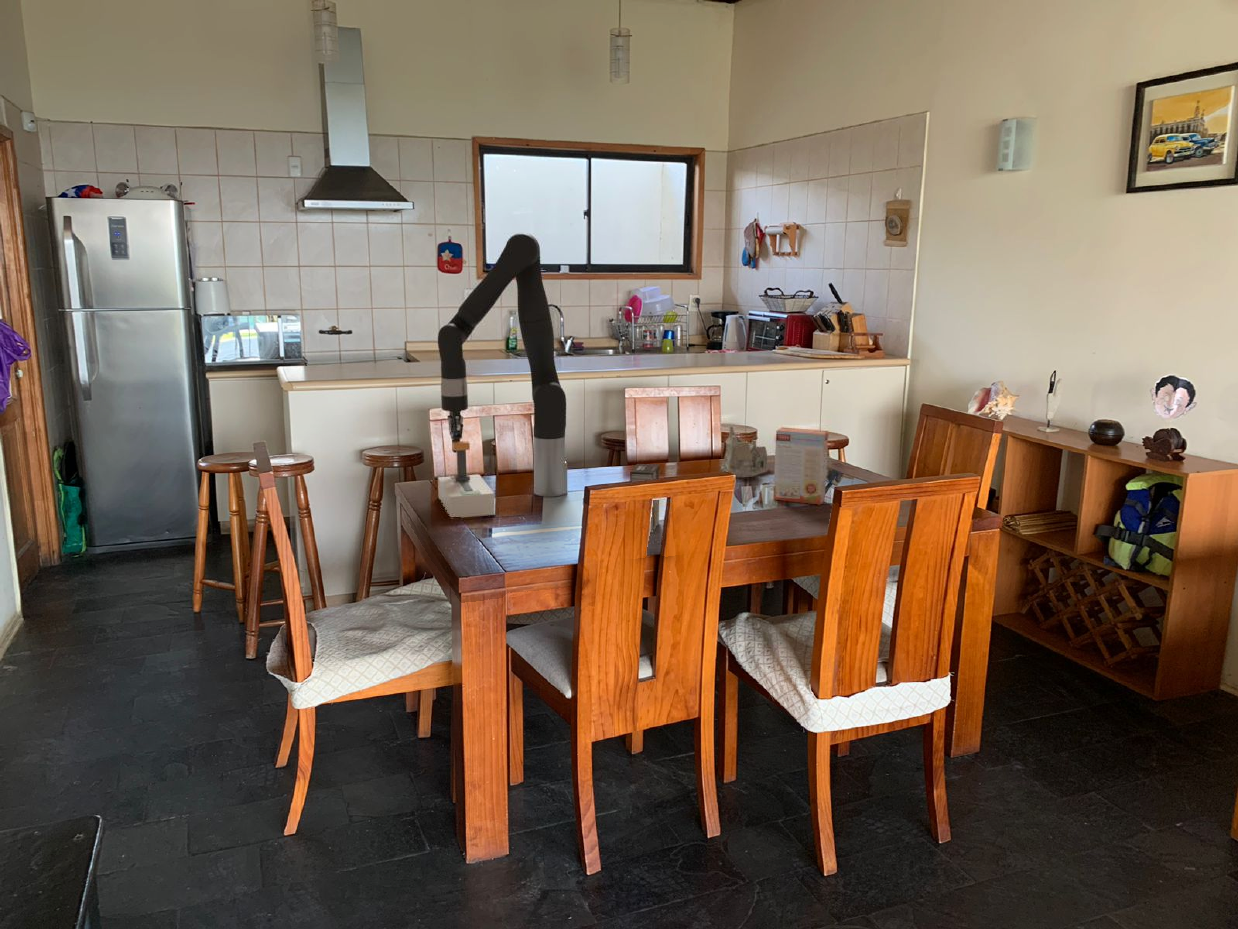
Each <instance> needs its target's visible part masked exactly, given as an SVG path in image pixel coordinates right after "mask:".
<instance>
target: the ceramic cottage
mask: <svg viewBox="0 0 1238 929" xmlns="http://www.w3.org/2000/svg"><path fill="white" fill-rule="evenodd" d="M728 434H729V435H728V437H727V438H726V440H725V445H726V451H725V454H724V462H723V463H722V464H721V466H720V470H721V469H724V470H723V471H726V472H734V473H735V474H736V477H735V478H749V477H750V478H751V477H755V476H759V475H761V474H764V473H766V472H768V471H769V468H768V467H767V463H768V453H767V451H768V450H767V448H766V446H757V440H755V439H752V440H751V442H752V443H750V441H742V439H741V438H740V437H739V436H738V435H737V434H736V433H735V430H734V426H733V425H731V426H729V432H728ZM723 471H722V472H723Z"/></svg>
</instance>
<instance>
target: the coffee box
mask: <svg viewBox="0 0 1238 929" xmlns="http://www.w3.org/2000/svg"><path fill="white" fill-rule="evenodd" d="M660 471H661V465H660V464H649V463H648V464H646V463H645V464H644V463H637V464H635V466H634V467H633V468H632V469H631V471H630V472H629V477H630V478H629V479H630V480H629V483H630V482H637V481H645V480H653V479H659V480H660V473H661V472H660ZM659 520H660V499H659V500H653V507H652V517H651V532H652V531H653V530H654V529H655V530H656V528H657V527H658V525H659V524H660V521H659ZM656 526H657V527H656ZM655 530H654V531H655Z"/></svg>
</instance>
